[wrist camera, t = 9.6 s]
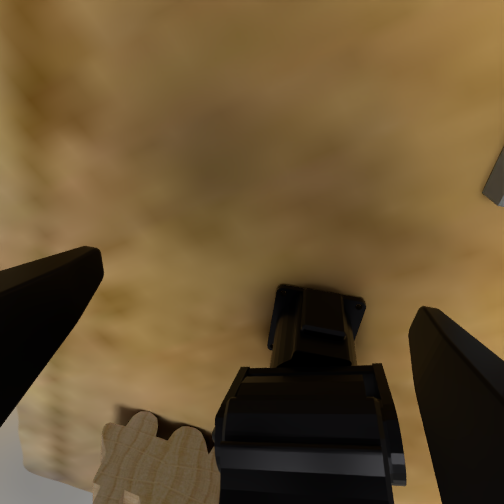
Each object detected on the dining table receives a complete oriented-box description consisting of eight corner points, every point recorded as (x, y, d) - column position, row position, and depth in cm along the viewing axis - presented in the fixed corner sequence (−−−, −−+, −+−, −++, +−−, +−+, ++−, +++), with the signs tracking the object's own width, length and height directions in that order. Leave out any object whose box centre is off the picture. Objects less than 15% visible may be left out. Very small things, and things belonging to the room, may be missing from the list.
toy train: (118, 401, 36) (57, 507, 28) (269, 449, 36) (254, 570, 27) (116, 429, 39) (60, 533, 30) (255, 473, 39) (239, 590, 30)
